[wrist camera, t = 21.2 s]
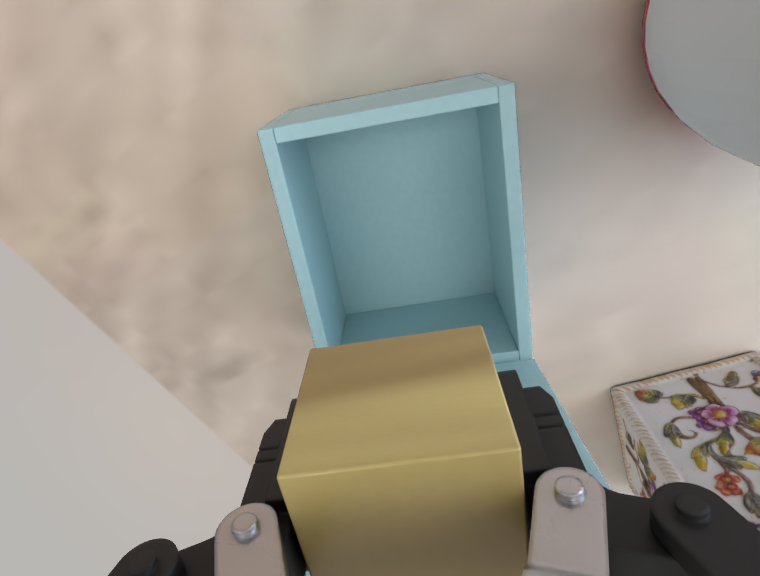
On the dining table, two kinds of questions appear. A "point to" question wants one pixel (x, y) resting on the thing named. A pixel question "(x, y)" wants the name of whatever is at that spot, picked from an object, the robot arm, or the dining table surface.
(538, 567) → the robot arm
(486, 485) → the block
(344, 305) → the box
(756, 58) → the citrus juicer
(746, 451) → the decorative jar
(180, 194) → the dining table surface
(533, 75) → the dining table surface
